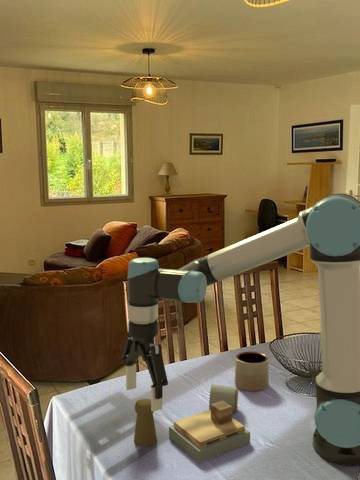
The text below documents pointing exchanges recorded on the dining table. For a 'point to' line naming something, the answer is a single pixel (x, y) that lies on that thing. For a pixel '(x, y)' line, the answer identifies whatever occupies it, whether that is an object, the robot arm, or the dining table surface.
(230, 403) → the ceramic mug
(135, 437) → the olive pawn
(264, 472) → the dining table surface
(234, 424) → the pallet
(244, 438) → the dock
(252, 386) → the planter
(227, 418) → the crate
